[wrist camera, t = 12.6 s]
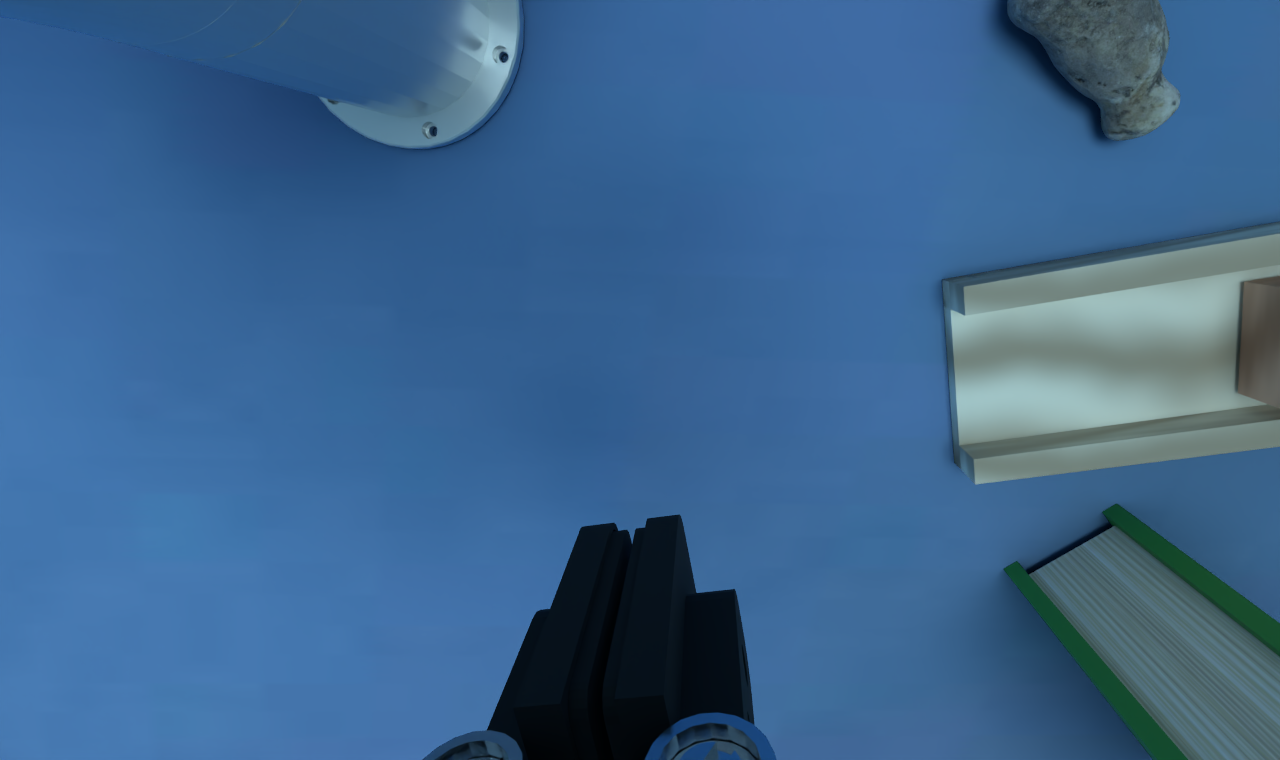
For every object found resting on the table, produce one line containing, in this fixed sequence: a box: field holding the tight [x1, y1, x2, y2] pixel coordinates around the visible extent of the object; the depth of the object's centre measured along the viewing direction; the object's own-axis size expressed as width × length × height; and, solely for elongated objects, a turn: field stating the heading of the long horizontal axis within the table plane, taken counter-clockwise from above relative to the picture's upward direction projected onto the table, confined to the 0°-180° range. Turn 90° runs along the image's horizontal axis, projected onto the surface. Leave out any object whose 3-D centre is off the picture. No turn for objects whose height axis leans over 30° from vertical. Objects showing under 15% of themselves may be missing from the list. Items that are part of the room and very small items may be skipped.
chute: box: [942, 222, 1280, 484], centre depth 33 cm, size 11×20×3 cm, turn 101°
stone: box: [1007, 0, 1180, 141], centre depth 29 cm, size 10×5×8 cm
